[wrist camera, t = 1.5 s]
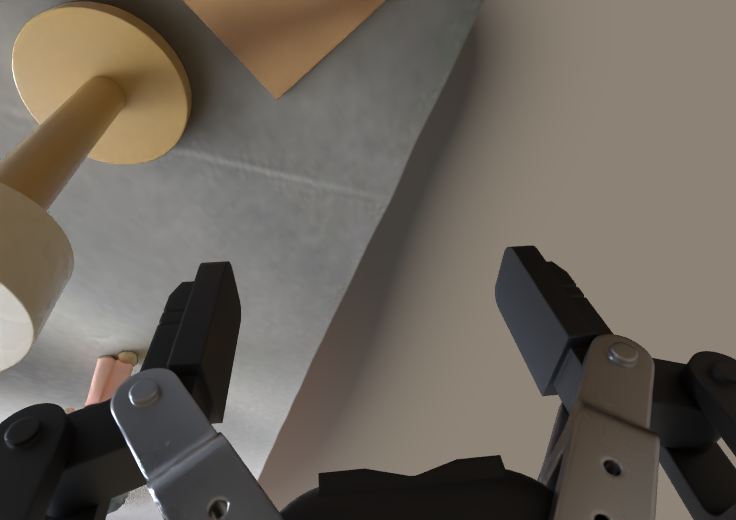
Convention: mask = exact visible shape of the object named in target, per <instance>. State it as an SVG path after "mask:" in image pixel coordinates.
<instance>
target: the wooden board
mask: <svg viewBox="0 0 736 520" xmlns="http://www.w3.org/2000/svg"><path fill="white" fill-rule="evenodd" d="M183 1H184V2H185V3H186V4H187V5H188V6H189V7H190V8H191V9H192V10H193V12H194V13H195V14H196V15H197V16H198V17H199V18H200V19H201V20H202V21H203V22H204V23H205V24H206V25H207V26H208V27H209V28H210V29H211V31H212V32H213V33H214V34H215V35H216V36H217V37H218V38H219V39H220V40H221V41H222V42H223V43H224V44H225V45H226V46H227V47H228V48H229V50H230V51H231V52H232V53H233V54H234V55H235V56H236V57H237V58H238V59H239V60H240V61H241V62H242V63H243V64H244V65H245V66H246V67H247V69H248V70H249V71H250V72H251V73H252V74H253V75H254V76H255V77H256V78H257V79H258V80H259V81H260V82H261V83H262V84H263V85H264V86H265V88H266V89H267V90H268V91H269V92H270V93H271V94H272V95H273V96H274V97H275V98H276V99H277V100H278V99H279V98H280V97H281V96H282V95H283V94H284V93H286V92H287V91H288V90H289V89H290V88H291V87H292V86H293V85H294V84H295V83H296V82H298V81H299V80H300V79H301V78H302V77H303V76H304V75H305V74H306V73H307V72H309V71H310V70H311V69H312V68H313V67H314V66H315V65H316V64H317V63H318V62H319V61H321V60H322V59H323V58H324V57H325V56H326V55H327V54H328V53H329V52H330V51H332V50H333V49H334V48H335V47H336V46H337V45H338V44H339V43H340V42H341V41H342V40H344V39H345V38H346V37H347V36H348V35H349V34H350V33H351V32H352V31H353V30H355V29H356V28H357V27H358V26H359V25H360V24H361V23H362V22H363V21H364V20H365V19H367V18H368V17H369V16H370V15H371V14H372V13H373V12H374V11H375V10H376V9H378V8H379V7H380V6H381V5H382V4H383V3H384V2H385V1H386V0H183Z"/></svg>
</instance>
